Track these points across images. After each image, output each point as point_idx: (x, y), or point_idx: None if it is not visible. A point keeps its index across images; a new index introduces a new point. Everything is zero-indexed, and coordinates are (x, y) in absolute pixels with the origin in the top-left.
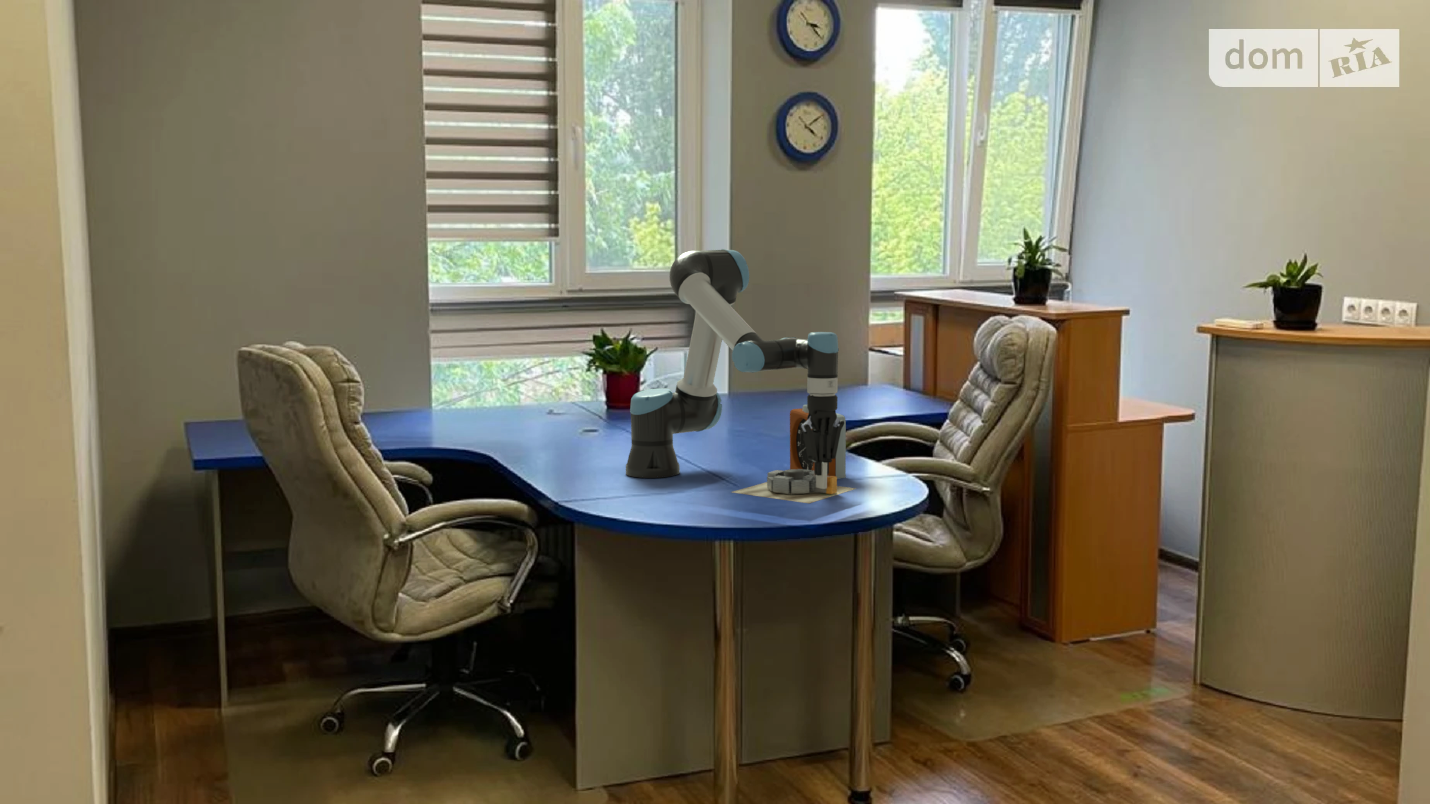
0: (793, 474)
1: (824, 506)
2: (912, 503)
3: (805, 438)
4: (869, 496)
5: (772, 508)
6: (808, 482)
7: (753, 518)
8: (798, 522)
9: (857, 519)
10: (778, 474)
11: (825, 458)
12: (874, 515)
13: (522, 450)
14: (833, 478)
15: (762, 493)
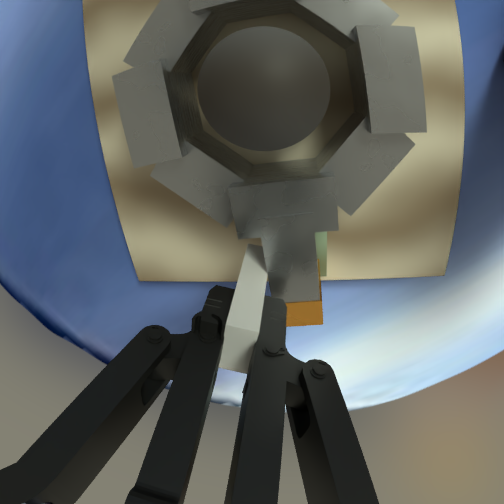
0: (214, 126)
1: (210, 282)
2: (381, 401)
3: (51, 439)
4: (423, 307)
5: (77, 179)
6: (224, 223)
7: (7, 223)
8: (62, 314)
9: (170, 386)
10: (224, 5)
11: (247, 382)
12: (223, 397)
13: None
14: (290, 323)
15: (128, 43)
